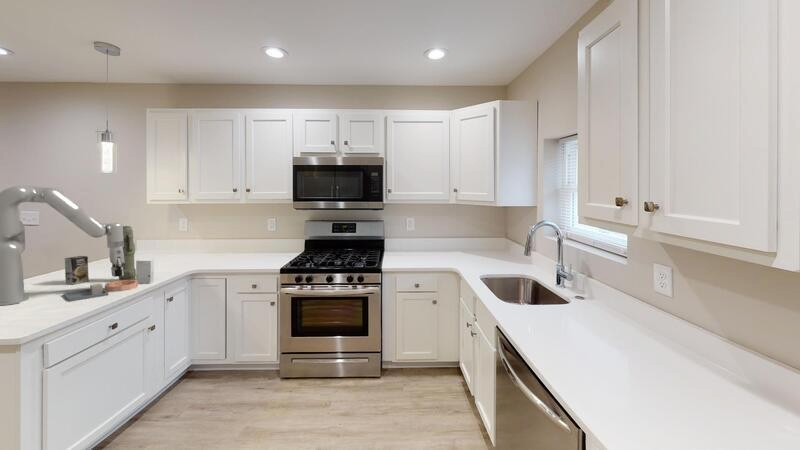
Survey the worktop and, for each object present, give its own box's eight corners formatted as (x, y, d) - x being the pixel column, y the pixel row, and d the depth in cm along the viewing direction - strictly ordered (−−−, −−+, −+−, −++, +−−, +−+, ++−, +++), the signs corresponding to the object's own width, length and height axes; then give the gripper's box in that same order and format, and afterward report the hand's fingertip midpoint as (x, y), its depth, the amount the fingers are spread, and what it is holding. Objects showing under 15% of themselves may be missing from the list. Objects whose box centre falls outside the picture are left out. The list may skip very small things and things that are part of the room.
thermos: (126, 283, 226) (124, 227, 223) (114, 280, 230) (111, 226, 227) (140, 280, 234) (139, 226, 231) (128, 278, 238) (126, 225, 235)
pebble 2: (114, 277, 207) (113, 268, 207) (111, 275, 210) (111, 267, 209) (123, 275, 211) (122, 267, 210) (121, 274, 213) (120, 265, 213)
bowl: (109, 293, 203) (109, 287, 203) (102, 288, 212) (102, 283, 212) (141, 288, 215) (140, 283, 215) (132, 284, 224) (132, 278, 224)
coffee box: (73, 284, 219) (72, 258, 217) (65, 284, 220) (63, 257, 218) (89, 281, 227) (88, 256, 226) (81, 280, 229) (79, 255, 227)
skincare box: (135, 284, 225) (134, 260, 223) (139, 281, 231) (138, 258, 229) (151, 283, 227) (150, 260, 226) (154, 281, 233) (154, 258, 232)
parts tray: (69, 302, 187) (69, 298, 186) (63, 296, 197) (63, 292, 196) (108, 296, 199) (108, 292, 199) (100, 290, 209) (100, 287, 209)
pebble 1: (92, 295, 198) (92, 286, 198) (90, 293, 201) (89, 284, 201) (102, 293, 202) (102, 284, 201) (100, 292, 204) (100, 283, 204)
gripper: (128, 245, 206) (129, 276, 208) (119, 242, 216) (120, 271, 218) (111, 246, 200) (113, 279, 202) (103, 243, 211) (105, 274, 212)
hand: (117, 274), depth 210 cm, fingers closed on pebble 2, 4 cm apart
